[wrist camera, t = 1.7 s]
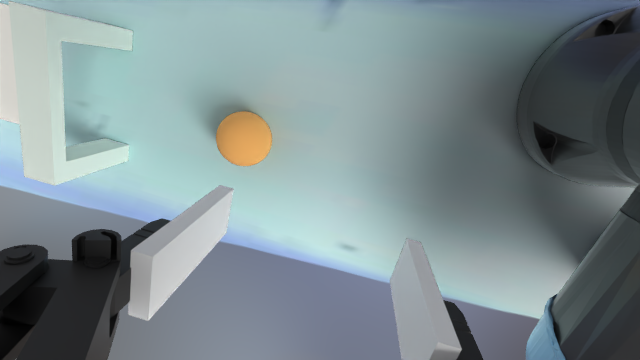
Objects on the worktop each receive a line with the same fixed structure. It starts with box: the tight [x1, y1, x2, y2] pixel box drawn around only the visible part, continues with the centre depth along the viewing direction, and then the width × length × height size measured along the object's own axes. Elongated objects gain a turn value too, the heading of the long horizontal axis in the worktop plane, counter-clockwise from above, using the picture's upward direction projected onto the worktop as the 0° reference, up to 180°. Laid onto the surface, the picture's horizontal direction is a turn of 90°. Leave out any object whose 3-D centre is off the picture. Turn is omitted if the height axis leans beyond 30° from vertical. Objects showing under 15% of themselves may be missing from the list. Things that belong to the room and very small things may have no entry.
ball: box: [216, 111, 272, 166], centre depth 30 cm, size 6×6×6 cm
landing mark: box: [0, 3, 20, 124], centre depth 34 cm, size 13×13×1 cm
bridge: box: [9, 1, 133, 185], centre depth 29 cm, size 3×14×9 cm, turn 166°
